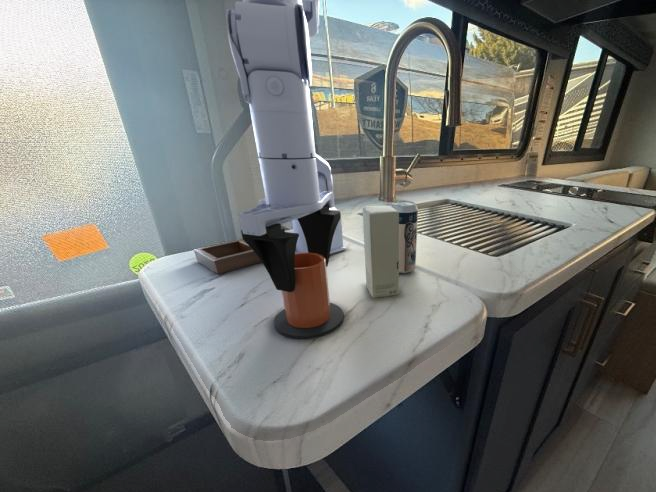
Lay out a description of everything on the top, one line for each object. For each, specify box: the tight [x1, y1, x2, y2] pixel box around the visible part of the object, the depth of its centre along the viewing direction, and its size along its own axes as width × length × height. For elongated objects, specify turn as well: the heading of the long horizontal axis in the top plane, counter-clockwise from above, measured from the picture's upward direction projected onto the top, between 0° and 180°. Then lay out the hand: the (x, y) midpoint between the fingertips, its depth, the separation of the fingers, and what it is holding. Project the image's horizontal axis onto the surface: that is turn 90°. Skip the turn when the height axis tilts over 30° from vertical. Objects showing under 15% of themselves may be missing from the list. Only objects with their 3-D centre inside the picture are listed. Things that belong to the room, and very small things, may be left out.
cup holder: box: [193, 238, 296, 275], centre depth 62 cm, size 9×17×2 cm, turn 140°
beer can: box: [390, 200, 419, 274], centre depth 55 cm, size 5×5×12 cm
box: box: [362, 205, 400, 298], centre depth 47 cm, size 5×4×13 cm
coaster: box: [273, 302, 345, 340], centre depth 42 cm, size 9×9×1 cm
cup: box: [281, 253, 331, 328], centre depth 40 cm, size 6×6×8 cm
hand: (304, 277), depth 39 cm, fingers open, 7 cm apart
